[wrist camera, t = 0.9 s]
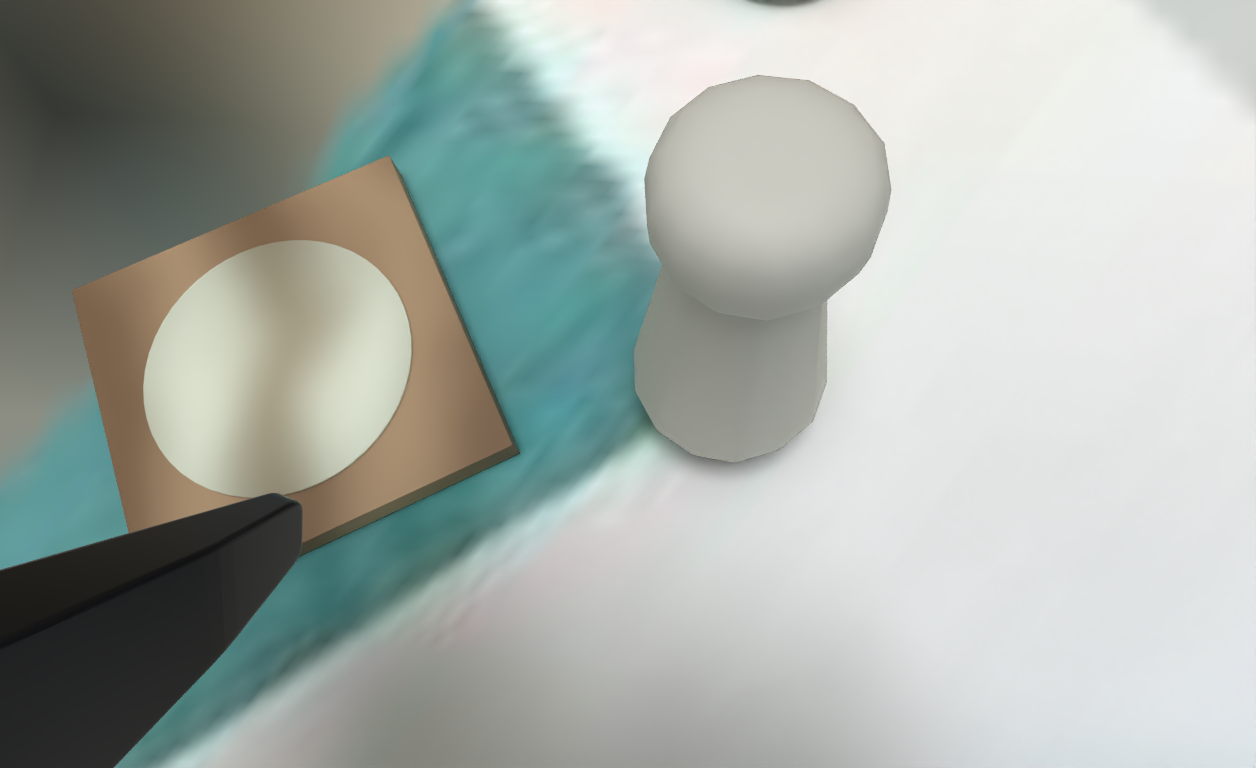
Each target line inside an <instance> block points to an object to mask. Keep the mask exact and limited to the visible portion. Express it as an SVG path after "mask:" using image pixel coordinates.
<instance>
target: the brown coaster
mask: <svg viewBox="0 0 1256 768" xmlns="http://www.w3.org/2000/svg"><path fill="white" fill-rule="evenodd" d="M72 293H73V297H74V302H75V306H76V310H77V314H78V319H79V323H80V327H81V331H82V336H83V340H84V344H85V348H86V353H87V357H88V361H89V365H90V370H91V374H92V378H93V382H94V387H95V391H96V395H97V399H98V404H99V408H100V412H101V416H102V421H103V425H104V429H105V433H106V438H107V442H108V446H109V450H110V455H111V459H112V463H113V468H114V472H115V476H116V480H117V485H118V489H119V493H120V497H121V502H122V506H123V510H124V514H125V519H126V523H127V527H128V531H129V533H131V532H135V531H138V530H142V529H145V528H149V527H152V526H156V525H159V524H163V523H166V522H170V521H173V520H177V519H180V518H184V517H187V516H191V515H194V514H198V513H201V512H205V511H208V510H212V509H215V508H219V507H223V506H226V505H230V504H233V503H237V502H240V501H244V500H247V499H251V498H254V497H258V496H261V495H265V494H268V493H279V494H282V495H284V496H287V497H289V498H292V499H294V500H296V501H298V502H299V503H300V504H301V506H302V508H303V538H302V549H301V553H300V555H299V556H301V555H303V554H305V553H307V552H310V551H312V550H314V549H316V548H318V547H320V546H322V545H325V544H327V543H329V542H331V541H333V540H335V539H337V538H340V537H342V536H344V535H346V534H348V533H350V532H352V531H355V530H357V529H359V528H361V527H363V526H365V525H367V524H370V523H372V522H374V521H376V520H378V519H380V518H382V517H385V516H387V515H389V514H391V513H393V512H395V511H397V510H400V509H402V508H404V507H406V506H408V505H410V504H412V503H415V502H417V501H419V500H421V499H423V498H425V497H427V496H430V495H432V494H434V493H436V492H438V491H440V490H442V489H445V488H447V487H449V486H451V485H453V484H455V483H457V482H460V481H462V480H464V479H466V478H468V477H470V476H472V475H475V474H477V473H479V472H481V471H483V470H485V469H487V468H490V467H492V466H494V465H496V464H498V463H500V462H502V461H505V460H507V459H509V458H511V457H513V456H515V455H517V454H520V452H519V450H518V447H517V445H516V443H515V440H514V438H513V436H512V433H511V431H510V428H509V426H508V424H507V421H506V419H505V417H504V414H503V412H502V410H501V407H500V405H499V403H498V400H497V398H496V396H495V393H494V391H493V389H492V386H491V384H490V382H489V379H488V377H487V375H486V372H485V370H484V368H483V365H482V363H481V361H480V358H479V356H478V354H477V351H476V349H475V347H474V344H473V342H472V340H471V337H470V335H469V333H468V330H467V328H466V326H465V323H464V321H463V319H462V316H461V314H460V312H459V309H458V307H457V305H456V302H455V300H454V298H453V295H452V293H451V291H450V288H449V286H448V284H447V281H446V279H445V277H444V274H443V272H442V270H441V267H440V265H439V263H438V260H437V258H436V256H435V253H434V251H433V249H432V246H431V244H430V242H429V239H428V237H427V235H426V232H425V230H424V228H423V225H422V223H421V221H420V218H419V216H418V213H417V211H416V209H415V206H414V204H413V202H412V199H411V197H410V195H409V192H408V190H407V188H406V185H405V183H404V181H403V178H402V176H401V174H400V172H399V171H398V169H397V168H396V166H395V164H394V163H393V161H392V159H391V158H390V156H386V157H384V158H382V159H379V160H377V161H375V162H372V163H370V164H368V165H365V166H363V167H361V168H358V169H356V170H354V171H351V172H349V173H346V174H344V175H342V176H339V177H337V178H335V179H332V180H330V181H328V182H325V183H323V184H321V185H318V186H316V187H314V188H311V189H309V190H307V191H304V192H302V193H299V194H297V195H295V196H292V197H290V198H288V199H285V200H283V201H281V202H278V203H276V204H274V205H271V206H269V207H267V208H264V209H262V210H260V211H257V212H255V213H252V214H250V215H248V216H246V217H243V218H241V219H238V220H236V221H234V222H232V223H229V224H227V225H224V226H222V227H220V228H217V229H215V230H213V231H210V232H208V233H206V234H203V235H201V236H198V237H196V238H194V239H192V240H189V241H187V242H184V243H182V244H180V245H177V246H175V247H173V248H170V249H168V250H166V251H163V252H161V253H159V254H156V255H154V256H151V257H149V258H147V259H144V260H142V261H140V262H137V263H135V264H133V265H130V266H128V267H126V268H123V269H121V270H119V271H116V272H114V273H112V274H109V275H107V276H105V277H103V278H100V279H97V280H95V281H93V282H91V283H88V284H86V285H83V286H81V287H79V288H76V289H74V290H72Z"/></svg>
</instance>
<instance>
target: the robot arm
mask: <svg viewBox="0 0 1256 768" xmlns="http://www.w3.org/2000/svg"><path fill="white" fill-rule="evenodd" d="M302 538H303V508H302V506H301V504H300V503H299V502H298V501H296V500H294V499H292V498H289V497H287V496H284V495H282V494H279V493H268V494H265V495H261V496H258V497H254V498H251V499H247V500H244V501H240V502H237V503H233V504H230V505H226V506H223V507H219V508H215V509H212V510H208V511H205V512H201V513H198V514H194V515H191V516H187V517H184V518H180V519H177V520H173V521H170V522H166V523H163V524H159V525H156V526H152V527H149V528H145V529H142V530H138V531H135V532H131V533H128V534H124V535H121V536H117V537H114V538H110V539H107V540H103V541H100V542H96V543H93V544H89V545H86V546H82V547H79V548H75V549H72V550H68V551H65V552H61V553H58V554H54V555H51V556H47V557H44V558H40V559H37V560H33V561H30V562H26V563H23V564H19V565H16V566H12V567H8V568H5V569H1V570H0V768H114V767H115V766H116V765H117V764H118V763H119V762H120V761H121V760H122V759H123V757H124V756H125V755H126V754H127V753H128V752H129V751H130V750H131V749H132V748H133V747H134V746H135V745H136V744H137V743H138V742H139V741H140V740H141V739H142V738H143V737H144V736H145V735H146V733H147V732H148V731H149V730H150V729H151V728H152V727H153V726H154V725H155V724H156V723H157V722H158V721H159V720H160V719H161V718H162V717H163V716H164V715H165V714H166V713H167V712H168V710H169V709H170V708H171V707H172V706H173V705H174V704H175V703H176V702H177V701H178V700H179V699H180V698H181V697H182V696H183V695H184V694H185V693H186V692H187V691H188V690H189V689H190V688H191V686H192V685H193V684H194V683H195V682H196V681H197V680H198V679H199V678H200V677H201V676H202V675H203V674H204V673H205V672H206V671H207V670H208V669H209V668H210V667H211V666H212V665H213V663H214V662H215V661H216V660H217V659H218V658H219V657H220V656H221V655H222V654H223V653H224V651H225V650H226V649H227V648H228V647H229V646H230V644H231V643H232V642H233V641H234V640H235V638H236V637H237V636H238V635H239V633H240V632H241V631H242V630H243V628H244V627H245V626H246V625H247V623H248V622H249V621H250V619H251V618H252V617H253V616H254V614H255V613H256V612H257V611H258V609H259V608H260V607H261V606H262V604H263V603H264V602H265V600H266V599H267V598H268V597H269V595H270V594H271V593H272V592H273V590H274V589H275V588H276V586H277V585H278V584H279V583H280V581H281V580H282V579H283V578H284V576H285V575H286V574H287V572H288V571H289V570H290V569H291V567H292V566H293V565H294V563H295V562H296V561H297V559H298V557H299V555H300V553H301V549H302Z"/></svg>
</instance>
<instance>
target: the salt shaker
mask: <svg viewBox="0 0 1256 768" xmlns="http://www.w3.org/2000/svg"><path fill="white" fill-rule="evenodd" d="M644 180H645V197H646V214H647V228H648V234H649V240H650V244H651V246H652V247H653V249H654V251H655V252H656V254H657V256H658V257H659V259H660V261H661V263H662V267H661V270H660V273H659V276H658V279H657V282H656V285H655V288H654V291H653V294H652V297H651V300H650V303H649V306H648V309H647V312H646V315H645V318H644V321H643V324H642V327H641V330H640V333H639V336H638V339H637V342H636V345H635V348H634V372H635V392H636V393H637V395H638V397H639V399H640V401H641V403H642V404H643V406H644V408H645V410H646V412H647V413H648V415H649V417H650V419H651V421H652V423H653V424H654V426H655V428H656V429H657V431H658V432H660V433H661V434H663V435H664V436H666V437H667V438H669V439H670V440H671V441H673V442H674V443H676V444H677V445H679V446H680V447H681V448H683V449H684V450H686V451H687V452H689V453H690V454H692V455H696V456H701V457H706V458H712V459H717V460H722V461H727V462H733V463H736V462H740V461H743V460H746V459H750V458H753V457H757V456H760V455H764V454H767V453H770V452H774V451H777V450H780V449H781V448H782V447H783V446H784V445H786V444H787V443H788V442H789V441H790V440H791V439H793V438H794V437H795V436H796V435H797V434H798V433H800V432H801V431H802V430H803V429H804V428H806V427H807V426H808V425H809V424H810V423H811V422H813V420H814V417H815V414H816V411H817V408H818V405H819V402H820V400H821V397H822V394H823V391H824V388H825V385H826V383H827V299H829V298H830V297H831V296H832V295H833V294H835V293H836V292H837V291H838V290H839V289H841V288H842V287H843V286H844V285H845V284H847V283H848V282H849V281H850V280H851V279H853V278H854V277H855V276H856V275H857V274H859V273H860V271H861V270H862V268H863V267H864V266H865V264H866V263H867V262H868V260H869V259H870V257H871V255H872V252H873V249H874V246H875V244H876V241H877V238H878V235H879V233H880V230H881V227H882V225H883V222H884V219H885V216H886V214H887V210H888V205H889V200H890V194H891V184H890V178H889V171H888V165H887V158H886V151H885V145H884V142H883V141H882V140H881V139H880V137H879V136H878V135H877V133H876V132H875V131H874V130H873V128H872V127H871V126H870V125H869V123H868V122H867V121H866V120H865V118H864V117H863V116H862V114H861V113H860V112H859V111H858V109H857V108H856V107H855V106H854V105H853V104H851V103H850V102H848V101H846V100H844V99H842V98H840V97H839V96H837V95H835V94H833V93H831V92H829V91H828V90H826V89H824V88H822V87H820V86H819V85H817V84H815V83H813V82H811V81H809V80H800V79H790V78H781V77H771V76H762V75H756V76H752V77H748V78H744V79H740V80H736V81H732V82H728V83H724V84H720V85H716V86H712V87H708V88H707V89H706V90H705V91H703V92H702V93H701V94H699V95H698V96H697V97H696V98H694V99H693V100H692V101H690V102H689V103H688V104H687V105H685V106H684V107H683V108H682V109H680V110H679V111H678V112H676V113H675V114H674V115H673V116H671V117H670V119H669V121H668V123H667V125H666V127H665V129H664V131H663V133H662V135H661V137H660V139H659V140H658V142H657V144H656V146H655V148H654V150H653V152H652V154H651V156H650V158H649V162H648V166H647V170H646V174H645V179H644Z"/></svg>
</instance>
